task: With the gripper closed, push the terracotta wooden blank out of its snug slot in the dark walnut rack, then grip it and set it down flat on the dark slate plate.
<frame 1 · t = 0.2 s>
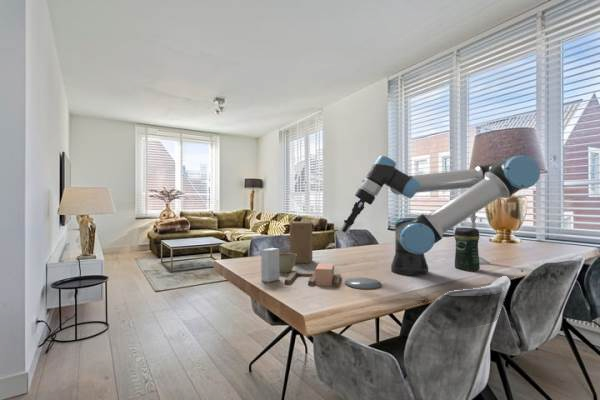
hand: (340, 236, 124), 16 cm above the table, tool tilted 30°, fingers open, 13 cm apart
plate: (362, 284, 111), on the table
blank: (325, 282, 115), on the table
flower pot: (285, 271, 132), on the table
rack: (325, 281, 115), on the table
wooden block: (301, 262, 152), on the table
candlestick: (473, 262, 152), on the table
skincare box: (270, 280, 117), on the table
coffee jar: (466, 269, 136), on the table
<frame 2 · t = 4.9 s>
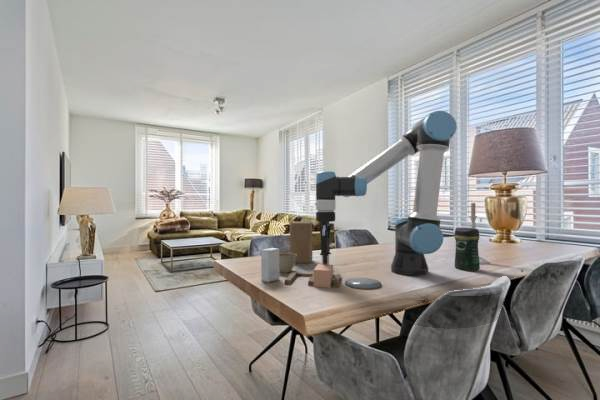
hand: (325, 271, 118), 3 cm above the table, tool pointing down, fingers closed
blank: (323, 283, 112), on the table, touching gripper
everything else where it was.
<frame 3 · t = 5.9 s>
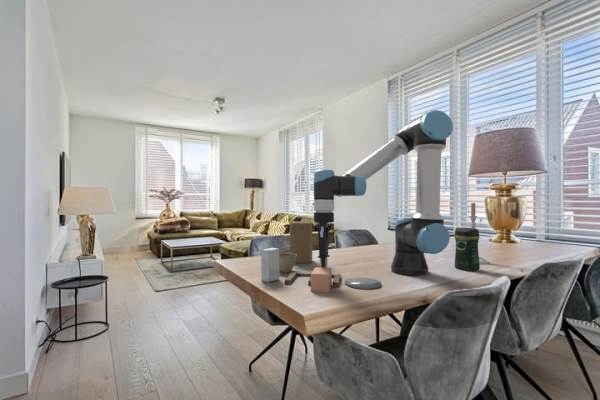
hand: (323, 275, 112), 3 cm above the table, tool pointing down, fingers closed
blank: (321, 287, 107), on the table, touching gripper
everything else where it was.
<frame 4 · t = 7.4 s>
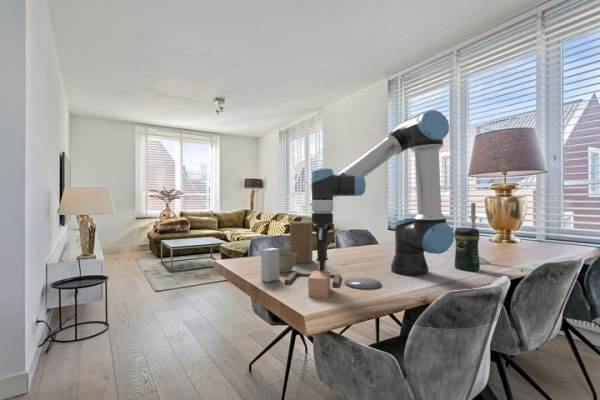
hand: (322, 279, 107), 3 cm above the table, tool pointing down, fingers closed
blank: (319, 292, 102), on the table
everything else where it was.
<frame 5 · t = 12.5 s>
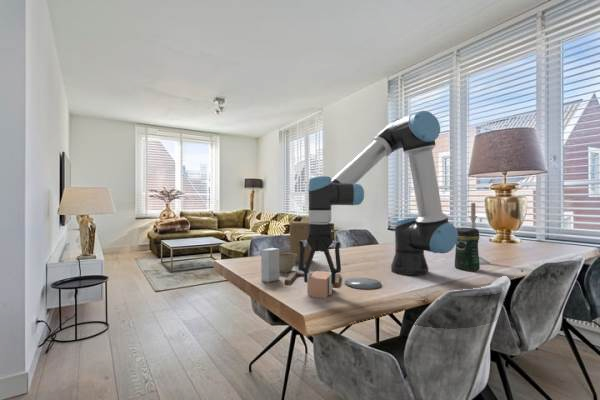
hand: (319, 292, 100), 0 cm above the table, tool pointing down, fingers open, 6 cm apart
nothing on the table moved.
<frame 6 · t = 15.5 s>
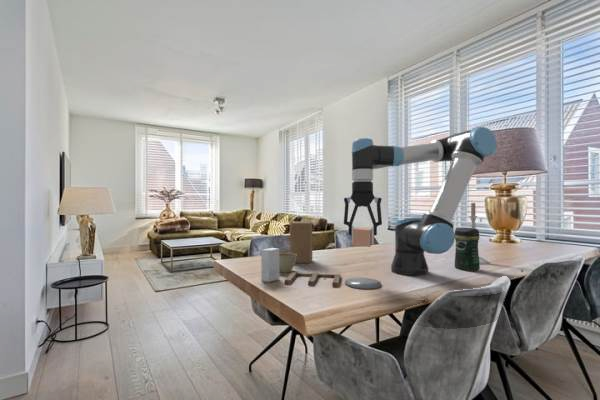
hand: (362, 244, 111), 15 cm above the table, tool pointing down, fingers closed on blank, 6 cm apart
blank: (362, 244, 112), point 14 cm above the table, touching gripper
everything else where it was.
when the fingers open (2 cm above the table, at t = 18.1 s): blank drops 1 cm, resting on plate.
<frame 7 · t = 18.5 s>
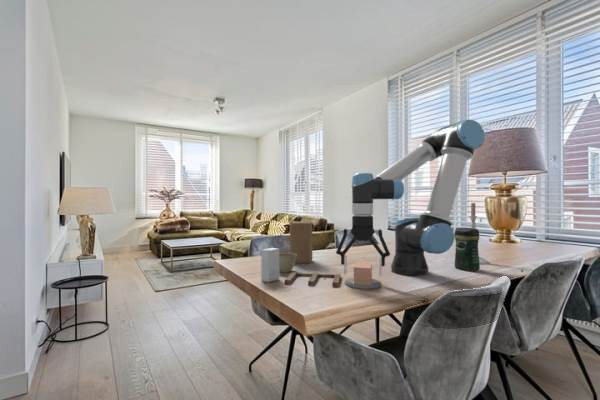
hand: (362, 274, 111), 4 cm above the table, tool pointing down, fingers open, 12 cm apart
blank: (363, 281, 112), point 1 cm above the table, touching plate
everything else where it was.
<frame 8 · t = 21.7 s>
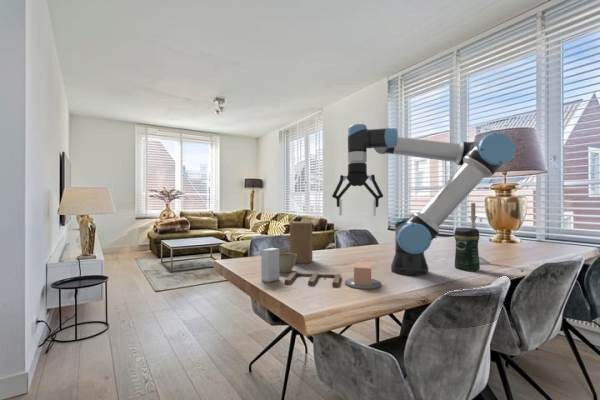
hand: (357, 215, 123), 25 cm above the table, tool pointing down, fingers open, 13 cm apart
nothing on the table moved.
at the end: blank 1.1 cm off-centre on the plate, point 0.8 cm above the plate's base; blank tilted 0°; the gripper is holding nothing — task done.
